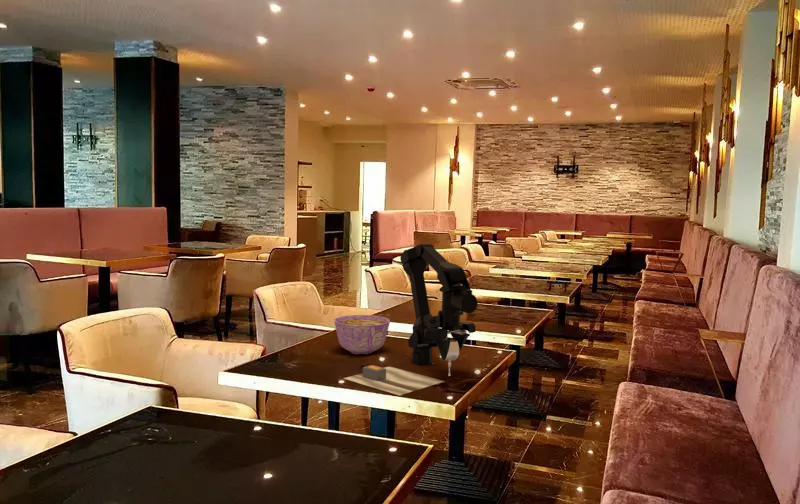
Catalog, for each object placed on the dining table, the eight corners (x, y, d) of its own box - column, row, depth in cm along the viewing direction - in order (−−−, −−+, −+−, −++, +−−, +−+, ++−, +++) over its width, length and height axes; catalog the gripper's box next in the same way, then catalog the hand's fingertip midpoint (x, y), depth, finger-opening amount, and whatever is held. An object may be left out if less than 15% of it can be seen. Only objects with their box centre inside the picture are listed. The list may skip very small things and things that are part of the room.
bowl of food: (388, 359, 224) (389, 326, 223) (330, 358, 224) (330, 324, 223) (390, 346, 244) (390, 315, 243) (336, 344, 244) (337, 314, 243)
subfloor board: (388, 369, 211) (389, 366, 211) (444, 384, 196) (444, 381, 196) (343, 381, 197) (343, 378, 196) (399, 398, 181) (399, 395, 181)
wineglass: (457, 381, 199) (458, 342, 198) (438, 380, 200) (439, 341, 199) (459, 376, 205) (460, 338, 203) (441, 375, 206) (442, 337, 205)
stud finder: (372, 374, 201) (372, 364, 201) (386, 378, 197) (386, 368, 197) (362, 376, 198) (362, 366, 198) (376, 381, 194) (376, 370, 194)
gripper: (449, 301, 213) (448, 348, 214) (411, 307, 199) (410, 358, 200) (477, 305, 205) (475, 354, 206) (439, 312, 191) (438, 365, 193)
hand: (449, 357), depth 202 cm, fingers closed on wineglass, 6 cm apart
